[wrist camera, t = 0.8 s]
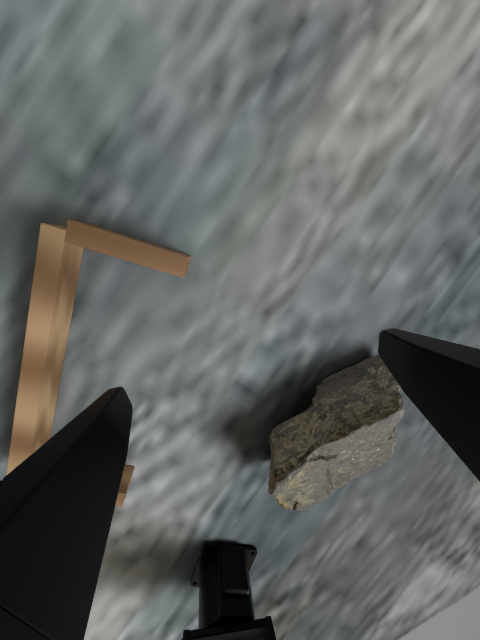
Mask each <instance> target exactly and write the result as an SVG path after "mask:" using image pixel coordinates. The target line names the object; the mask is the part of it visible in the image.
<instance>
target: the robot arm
mask: <svg viewBox="0 0 480 640" xmlns="http://www.w3.org/2000/svg"><path fill="white" fill-rule="evenodd" d="M378 353H379V356H380V358H381V359H382V361H383V362H384V364H385V365H386V367H387V368H388V370H389V371H390V372H391V374H392V375H393V377H394V378H395V380H396V381H397V383H398V384H399V386H400V387H401V388H402V390H403V391H404V392H405V394H406V395H407V396H408V397H409V399H410V400H411V401H412V402H413V403H414V405H415V406H416V407H417V408H418V409H419V410H420V412H421V413H422V414H423V415H424V416H425V418H426V419H427V420H428V421H429V422H430V423H431V425H432V426H433V427H434V428H435V429H436V430H437V432H438V433H439V434H440V435H441V436H442V438H443V439H444V440H445V441H446V442H447V443H448V445H449V446H450V447H451V448H452V449H453V450H454V452H455V453H456V454H457V455H458V456H459V458H460V459H461V460H462V461H463V462H464V463H465V465H466V466H467V467H468V468H469V469H470V471H471V472H472V473H473V474H474V475H475V476H476V478H477V479H478V480H479V481H480V349H477V348H473V347H469V346H464V345H460V344H456V343H452V342H448V341H444V340H440V339H436V338H432V337H428V336H423V335H419V334H415V333H411V332H407V331H403V330H399V329H395V328H391V329H386V330H382V331H381V332H380V334H379V345H378ZM132 412H133V409H132V404H131V402H130V400H129V398H128V396H127V394H126V392H125V390H124V388H123V387H116V388H112V389H109V390H107V391H106V392H105V393H104V394H103V395H101V396H100V397H99V398H98V399H97V400H96V401H94V402H93V403H92V404H91V405H90V406H88V407H87V408H86V409H85V410H84V411H82V412H81V413H80V414H79V415H78V416H76V417H75V418H74V419H73V420H72V421H71V422H69V423H68V424H67V425H66V426H65V427H63V428H62V429H61V430H60V431H59V432H57V433H56V434H55V435H54V436H53V437H52V438H50V439H49V440H48V441H47V442H46V443H44V444H43V445H42V446H41V447H40V448H38V449H37V450H36V451H35V452H34V453H32V454H31V455H30V456H29V457H28V458H27V459H25V460H24V461H23V462H22V463H21V464H19V465H18V466H17V467H16V468H15V469H13V470H12V471H11V472H10V473H9V474H8V475H6V476H5V477H4V478H3V481H2V480H1V481H0V640H84V636H85V631H86V627H87V623H88V619H89V615H90V610H91V606H92V602H93V598H94V593H95V589H96V585H97V581H98V576H99V572H100V568H101V564H102V559H103V555H104V551H105V547H106V543H107V538H108V534H109V530H110V526H111V521H112V517H113V513H114V509H115V504H116V500H117V496H118V492H119V487H120V483H121V479H122V475H123V471H124V466H125V462H126V457H127V452H128V445H129V436H130V428H131V420H132ZM256 555H257V549H256V547H253V546H242V545H231V544H221V543H210V542H207V543H205V544H204V545H203V548H202V551H201V553H200V556H199V559H198V562H197V564H196V567H195V570H194V572H193V575H192V578H191V586H194V587H199V629H196V630H190V631H189V629H188V630H184V632H183V639H182V640H276V636H275V632H274V628H273V624H272V619H271V616H266V617H265V618H262V619H256V620H255V615H254V608H253V600H252V593H251V586H250V578H249V571H250V568H251V566H252V564H253V561H254V559H255V557H256Z"/></svg>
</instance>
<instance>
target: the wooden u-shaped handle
mask: <svg viewBox="0 0 480 640" xmlns="http://www.w3.org/2000/svg"><path fill="white" fill-rule="evenodd" d="M84 248H86V249H90V250H93V251H96V252H100V253H103V254H106V255H109V256H113V257H116V258H119V259H123V260H126V261H129V262H133V263H136V264H139V265H143V266H146V267H149V268H153V269H156V270H159V271H163V272H166V273H169V274H173V275H176V276H179V277H183V278H184V277H185V275H186V274H187V271H188V267H189V263H190V260H191V256H189V255H186V254H183V253H180V252H176V251H173V250H170V249H167V248H164V247H161V246H158V245H155V244H151V243H148V242H145V241H142V240H139V239H136V238H133V237H130V236H126V235H123V234H120V233H117V232H114V231H111V230H108V229H105V228H101V227H98V226H95V225H92V224H89V223H85V222H80V221H75V220H71V219H68V221H67V227H65V226H59V225H53V224H46V223H41V225H40V232H39V240H38V247H37V254H36V262H35V269H34V276H33V284H32V291H31V298H30V305H29V313H28V320H27V327H26V335H25V342H24V349H23V357H22V364H21V371H20V379H19V386H18V393H17V400H16V408H15V415H14V422H13V430H12V437H11V444H10V452H9V459H8V466H7V473H6V475H8V474H9V473H10V472H11V471H12V470H13V469H15V468H16V467H17V466H18V465H19V464H21V463H22V462H23V461H24V460H25V459H27V458H28V457H29V456H30V455H31V454H32V453H34V452H35V451H36V450H37V449H38V448H40V447H41V446H42V445H43V444H44V443H46V442H47V441H48V440H49V439H50V436H51V430H52V424H53V419H54V413H55V407H56V402H57V396H58V390H59V385H60V379H61V373H62V368H63V362H64V356H65V351H66V345H67V339H68V334H69V328H70V322H71V317H72V311H73V305H74V300H75V294H76V288H77V283H78V277H79V271H80V266H81V260H82V254H83V249H84ZM134 467H135V466H128V465H125V466H124V471H123V475H122V479H121V483H120V487H119V492H118V496H117V500H116V504H115V506H121V507H122V506H123V503H124V500H125V497H126V493H127V490H128V487H129V484H130V481H131V478H132V474H133V470H134Z"/></svg>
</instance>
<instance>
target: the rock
mask: <svg viewBox="0 0 480 640" xmlns="http://www.w3.org/2000/svg"><path fill="white" fill-rule="evenodd" d="M400 389H401V387H400V386H399V384H398V383H397V381H396V380H395V378H394V377H393V375H392V374H391V372H390V371H389V370H388V368H387V367H386V365H385V364H384V362H383V361H382V359H381V358H380V356H379V355H376V356H374V357H372V358H367V359H365V360H364V361H362V362H360V363H358V364H356V365H354V366H351V367H348V368H345V369H343V370H341V371H340V372H337V373H335V374H332V375H330V376H328V377H327V378H325V379H324V380H323V381H321V383H320V384H319V385H318V386H317V388H316V391H315V395H314V398H313V399H312V404H311V406H310V407H309V408H307V410H306V411H304V412H302V413H300V414H299V415H296V416H294V417H292V418H290V419H289V420H287V421H284V422H283V423H281V424H279V425H277V426H276V427H275V428H274V429H273V430H272V431H271V434H270V435H269V438H270V439H269V442H270V452H271V462H270V475H269V482H268V483H269V489H268V492H269V494H271V495H273V496H274V497H275V498H277V502H278V504H280V505H281V506H282V507H283V508H286V509H294V510H295V511H299V510H302V509H306V508H309V507H311V506H312V505H315V504H317V503H320V502H322V501H324V500H326V499H327V498H328V497H329V494H331V493H332V492H333V491H334V490H335V489H337V488H339V487H341V486H343V485H345V484H346V483H348V482H349V481H351V480H352V479H354V478H356V477H358V476H360V475H363V474H365V473H367V472H369V471H371V470H373V469H375V468H378V467H380V466H381V465H382V464H383V463H384V462H386V461H388V460H389V459H390V457H391V455H392V454H393V449H394V448H395V446H396V436H397V435H396V427H395V426H396V424H398V422H399V421H400V419H401V418H402V417H403V414H404V410H405V408H404V404H403V402H402V396H401V394H400V393H399V391H400Z"/></svg>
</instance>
